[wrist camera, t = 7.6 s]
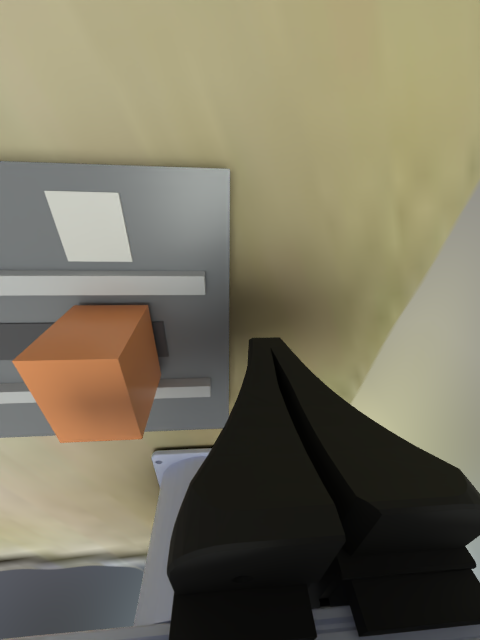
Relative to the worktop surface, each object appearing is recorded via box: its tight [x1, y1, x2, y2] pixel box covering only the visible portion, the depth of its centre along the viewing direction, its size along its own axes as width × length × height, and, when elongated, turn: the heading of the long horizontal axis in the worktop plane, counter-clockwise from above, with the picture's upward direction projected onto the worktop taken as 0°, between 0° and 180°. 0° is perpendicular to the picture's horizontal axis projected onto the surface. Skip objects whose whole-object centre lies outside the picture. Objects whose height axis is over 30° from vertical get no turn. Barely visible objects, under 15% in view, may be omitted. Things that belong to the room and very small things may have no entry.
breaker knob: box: [12, 305, 161, 443], centre depth 10 cm, size 4×3×4 cm
